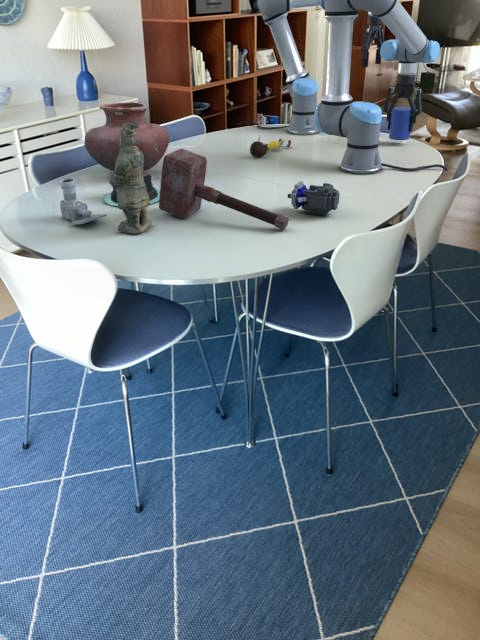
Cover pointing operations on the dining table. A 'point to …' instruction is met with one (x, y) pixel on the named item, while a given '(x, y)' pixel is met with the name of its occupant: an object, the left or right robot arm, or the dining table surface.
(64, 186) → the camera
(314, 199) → the toy
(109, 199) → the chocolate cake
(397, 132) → the canister
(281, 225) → the sledgehammer
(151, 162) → the clay pot
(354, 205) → the dining table surface
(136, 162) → the statue
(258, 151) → the figurine
